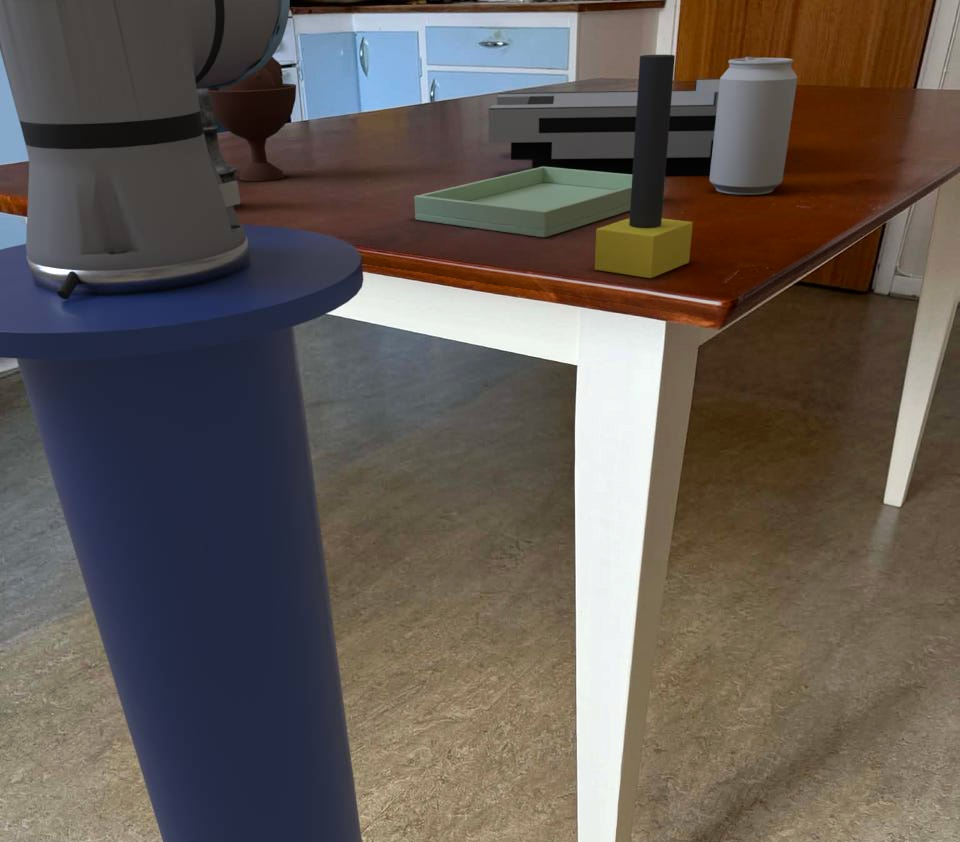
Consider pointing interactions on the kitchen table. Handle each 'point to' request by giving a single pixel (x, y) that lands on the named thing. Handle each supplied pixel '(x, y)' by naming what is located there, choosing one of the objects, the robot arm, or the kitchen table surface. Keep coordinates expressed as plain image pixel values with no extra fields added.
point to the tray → (530, 201)
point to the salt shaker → (214, 139)
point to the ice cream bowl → (256, 114)
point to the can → (752, 125)
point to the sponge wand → (647, 188)
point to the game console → (603, 129)
